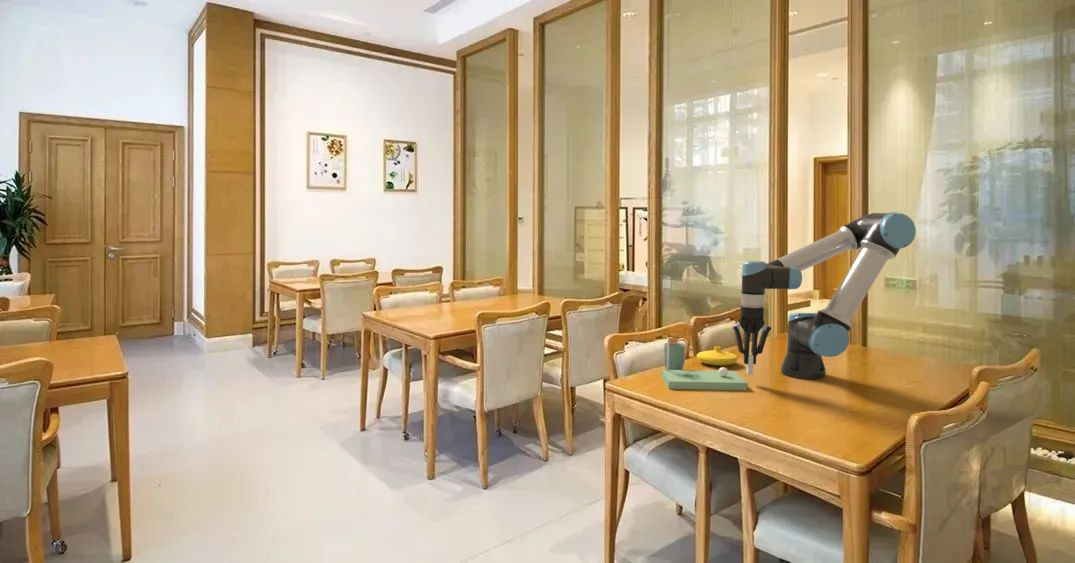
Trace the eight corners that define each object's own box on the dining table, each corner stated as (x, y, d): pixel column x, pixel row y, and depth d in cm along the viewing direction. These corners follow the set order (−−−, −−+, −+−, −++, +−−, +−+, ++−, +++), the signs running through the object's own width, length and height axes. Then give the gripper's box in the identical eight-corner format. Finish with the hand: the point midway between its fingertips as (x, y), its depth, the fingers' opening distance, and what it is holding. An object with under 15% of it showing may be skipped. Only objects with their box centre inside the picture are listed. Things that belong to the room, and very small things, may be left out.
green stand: (734, 377, 217) (735, 338, 216) (746, 390, 201) (748, 347, 200) (661, 376, 218) (662, 337, 217) (668, 388, 203) (669, 346, 201)
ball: (726, 375, 211) (726, 366, 210) (728, 377, 208) (729, 368, 207) (717, 375, 211) (717, 366, 211) (719, 377, 208) (719, 368, 207)
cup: (684, 373, 223) (685, 347, 221) (663, 372, 224) (664, 346, 223) (684, 368, 230) (684, 342, 229) (663, 367, 232) (664, 342, 231)
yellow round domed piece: (743, 369, 230) (744, 351, 229) (702, 368, 230) (702, 350, 230) (730, 359, 246) (731, 342, 245) (692, 359, 246) (692, 342, 245)
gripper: (768, 304, 209) (764, 370, 212) (730, 304, 210) (727, 370, 213) (775, 307, 202) (771, 376, 204) (736, 307, 203) (733, 375, 205)
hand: (749, 373), depth 209 cm, fingers closed
